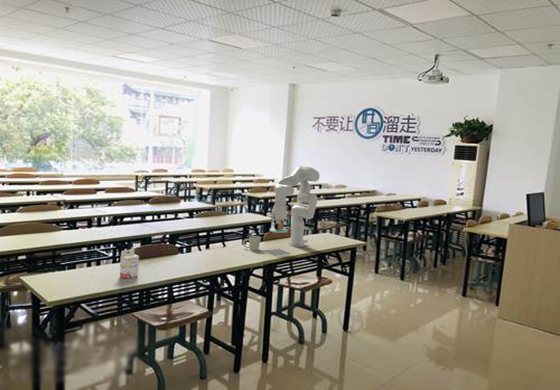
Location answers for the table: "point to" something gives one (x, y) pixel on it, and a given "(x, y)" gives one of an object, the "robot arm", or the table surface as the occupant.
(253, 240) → the mug
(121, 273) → the ink cartridge box
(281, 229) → the lid
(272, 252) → the mat
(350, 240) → the table surface
